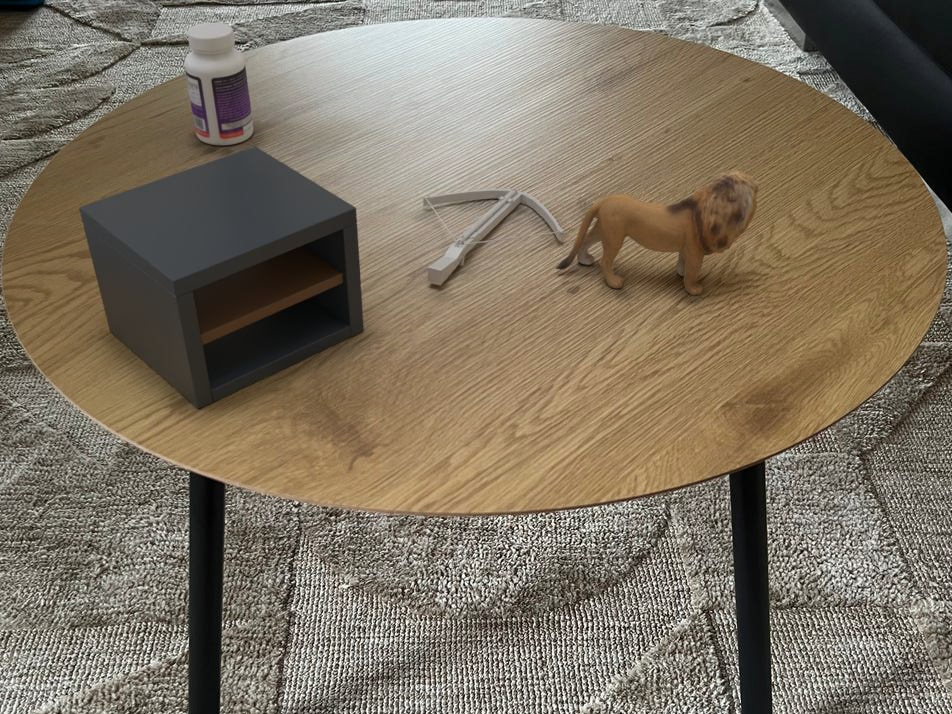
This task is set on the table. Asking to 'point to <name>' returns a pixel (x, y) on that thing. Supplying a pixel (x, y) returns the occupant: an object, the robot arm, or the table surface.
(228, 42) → the pill bottle
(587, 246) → the lion figurine
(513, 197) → the crossbow
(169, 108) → the table surface
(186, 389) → the shelf
